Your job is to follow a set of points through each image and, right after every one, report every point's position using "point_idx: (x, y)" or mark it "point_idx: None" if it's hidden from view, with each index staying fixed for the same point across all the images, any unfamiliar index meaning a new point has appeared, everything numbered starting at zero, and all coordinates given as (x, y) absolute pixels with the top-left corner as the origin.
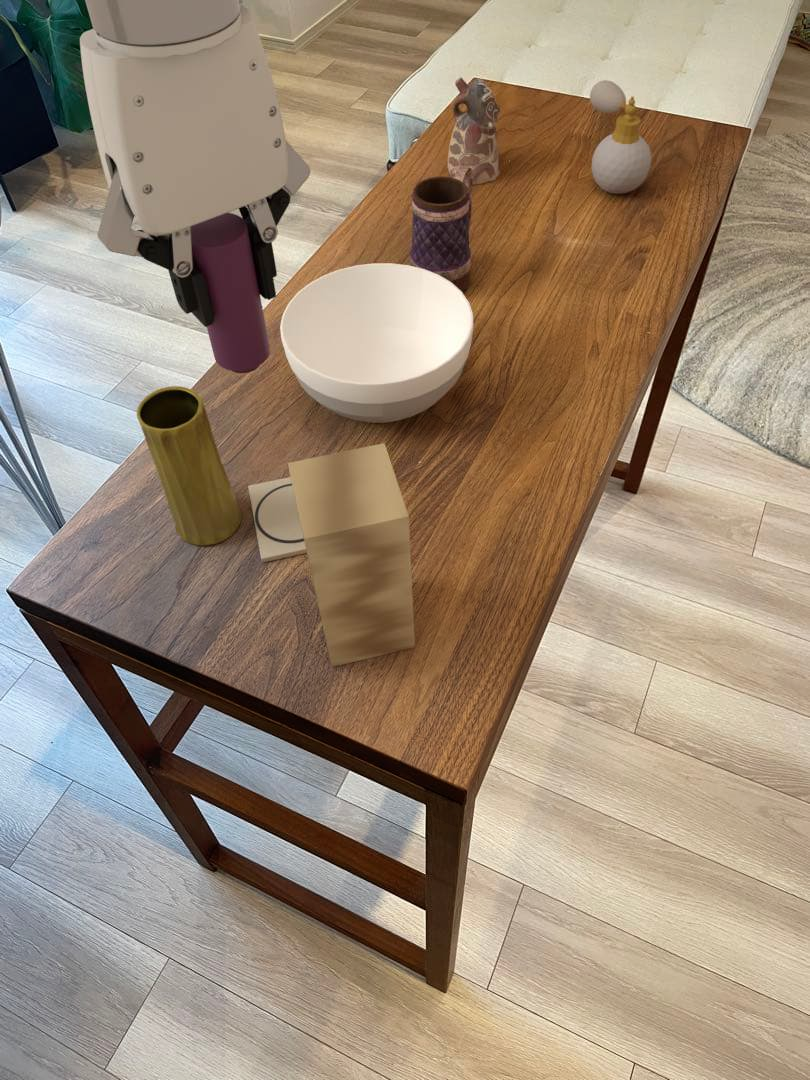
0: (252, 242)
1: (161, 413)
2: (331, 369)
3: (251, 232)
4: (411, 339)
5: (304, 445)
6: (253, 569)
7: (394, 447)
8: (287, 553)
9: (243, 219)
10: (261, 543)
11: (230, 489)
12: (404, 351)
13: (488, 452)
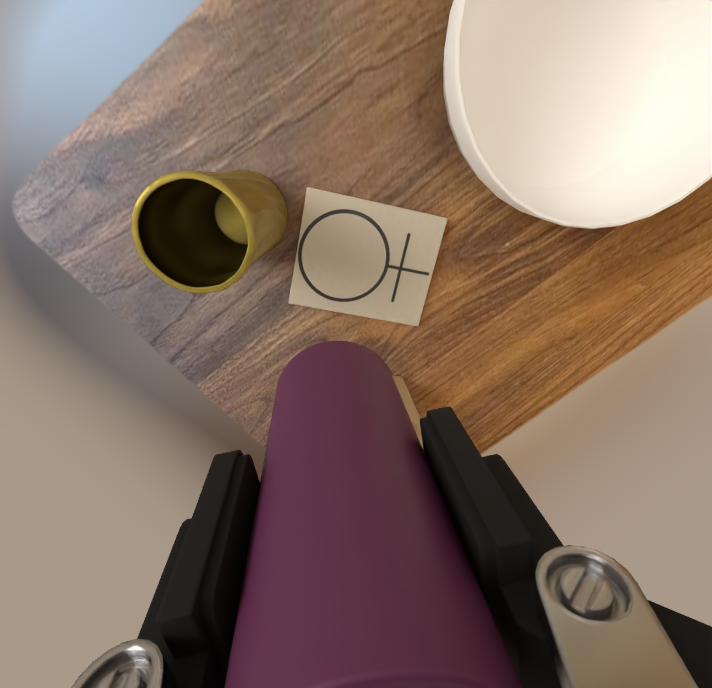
0: (502, 636)
1: (186, 182)
2: (505, 6)
3: (526, 682)
4: (645, 13)
5: (400, 142)
6: (277, 305)
7: (496, 206)
8: (317, 308)
9: (547, 641)
10: (295, 283)
11: (278, 224)
12: (619, 25)
13: (578, 267)
